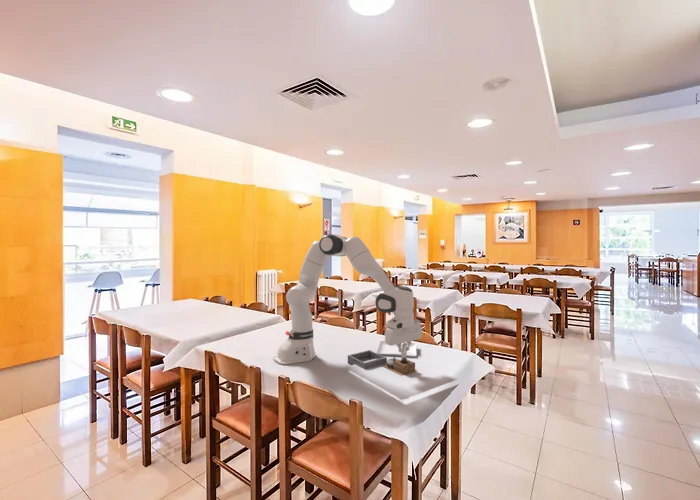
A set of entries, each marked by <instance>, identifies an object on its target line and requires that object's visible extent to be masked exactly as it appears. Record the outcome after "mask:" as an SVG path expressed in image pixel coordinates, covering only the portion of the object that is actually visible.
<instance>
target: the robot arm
mask: <svg viewBox="0 0 700 500" xmlns="http://www.w3.org/2000/svg"><path fill="white" fill-rule="evenodd" d="M330 256H331V257H345V256H346V257H347V258H348V260H349V262H350V263H351V265H352V267H353V268H354V270H355V271H356V272H357V273H358V274H360V275H363V276H367V277H370V278H371V279H374V280H375V281H376V283H377V284H378V285H379V287H380V289H381V290H382V291H383V292H382V293H380V294H378V295H377V296H376V298H375V301H374V303H375V307H376V309H377V310H378V311H379V312H380V313H382V314H389V313H393V314H394V317H392V318H391V319H389V320H388V321H386V322H385V327H386V329H385V332H384V334H385V335H384V341H385V342H386V344H388V345H395V344H397V346H398V348H399V352H400V353H401V352H403V348H402V347H401V345H402V343H404V342H407V351H408V350H409V347H410V345H411V343H412V341H415V340H420V339H421V338H422V335H423V334H422V333H423V331H422V326H421V321H420V320H419V319H416V318H414V317H415V316H414V315H415V314H414V307H415V299H414V298H415V296H414V292H413V290H412V288H410V287H408V286H404V285H398V286H396V285H395V284H394V282H393V281H392V280H391V278H390V277H389V276H388V274H387V273H386V272H385V270H384V269H383V268H382V267H381V265H380V264H379V263H378V262H377V260H376V258H374V256H373V255H372V252H371V251H370V250H369V248H368V246H367V245H366V244H365V243H364V241H363V240H362V239H361V238H360V237H358V236H351V237H349V238H348V237H345V236H343V235H339V234H326V235H323V236H322V237H321V238H320V240H316V241H314V242H313V243H311V245H310V247H309V249H308V251H307V253H306V255H305V257H304V259H303V263H302V265H301V267H300V269H299V279H298V282H297V284H296V285H293V286H292V287H290V288H289V289H288V291H287V292H286V295H285V300H286V302H287V304H288V306H289V310H290V314H291V315H290V316H291V330H290V331H289V330H286V331H285V333H284V334H285V335H286V336H288V338H287V339H285V341H283V342H282V343H281V344H280V345H279V347H278V349H277V354H274V355H273V357H272V359H273V361H274V362H275V363H277V364H279V365H285V366H286V365H290V364H292V365H293V364H298V363H304V362H310V361H312V360H314V358H315V357H316V355H317V354H316V351H315V346H314V329H313V313H312V312H311V311H312V310H311V308H310V302H311V301H313V300H314V298H315V297H316V295H317V289H318V285H319V280H320V278H321V274H322V272H323V270H324V268H325V265H326V262H327V260H328V258H329V257H330Z"/></svg>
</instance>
